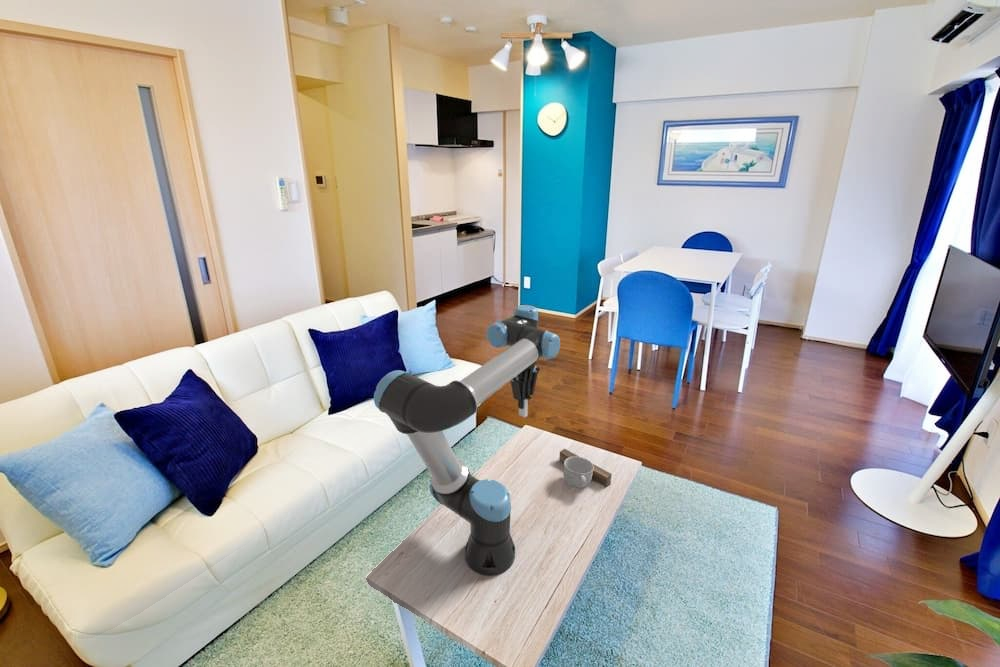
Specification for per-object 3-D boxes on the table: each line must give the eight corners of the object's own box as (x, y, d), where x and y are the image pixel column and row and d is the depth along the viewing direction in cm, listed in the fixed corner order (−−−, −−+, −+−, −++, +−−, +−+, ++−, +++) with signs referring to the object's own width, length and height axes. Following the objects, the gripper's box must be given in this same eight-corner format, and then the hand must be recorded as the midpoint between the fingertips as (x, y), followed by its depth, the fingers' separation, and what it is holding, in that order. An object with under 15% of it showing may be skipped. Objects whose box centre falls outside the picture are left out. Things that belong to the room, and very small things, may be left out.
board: (605, 487, 171) (606, 477, 169) (559, 461, 186) (559, 451, 184) (610, 484, 173) (611, 473, 171) (563, 458, 188) (564, 448, 186)
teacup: (562, 472, 179) (563, 454, 176) (591, 474, 178) (593, 456, 175) (562, 496, 166) (564, 477, 163) (593, 499, 165) (595, 480, 162)
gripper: (519, 360, 146) (517, 426, 154) (546, 350, 155) (543, 413, 163) (502, 354, 151) (501, 417, 160) (530, 344, 160) (528, 405, 168)
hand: (523, 415), depth 161 cm, fingers closed
